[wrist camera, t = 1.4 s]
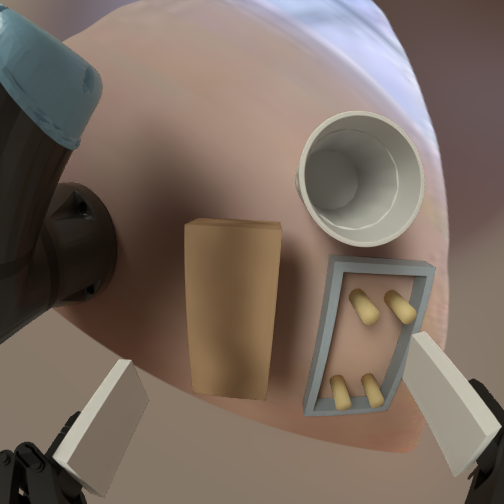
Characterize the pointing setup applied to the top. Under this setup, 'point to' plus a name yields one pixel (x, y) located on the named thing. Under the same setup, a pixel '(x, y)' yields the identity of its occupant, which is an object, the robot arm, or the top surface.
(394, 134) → the cup
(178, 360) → the top surface
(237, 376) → the board
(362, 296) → the frame
